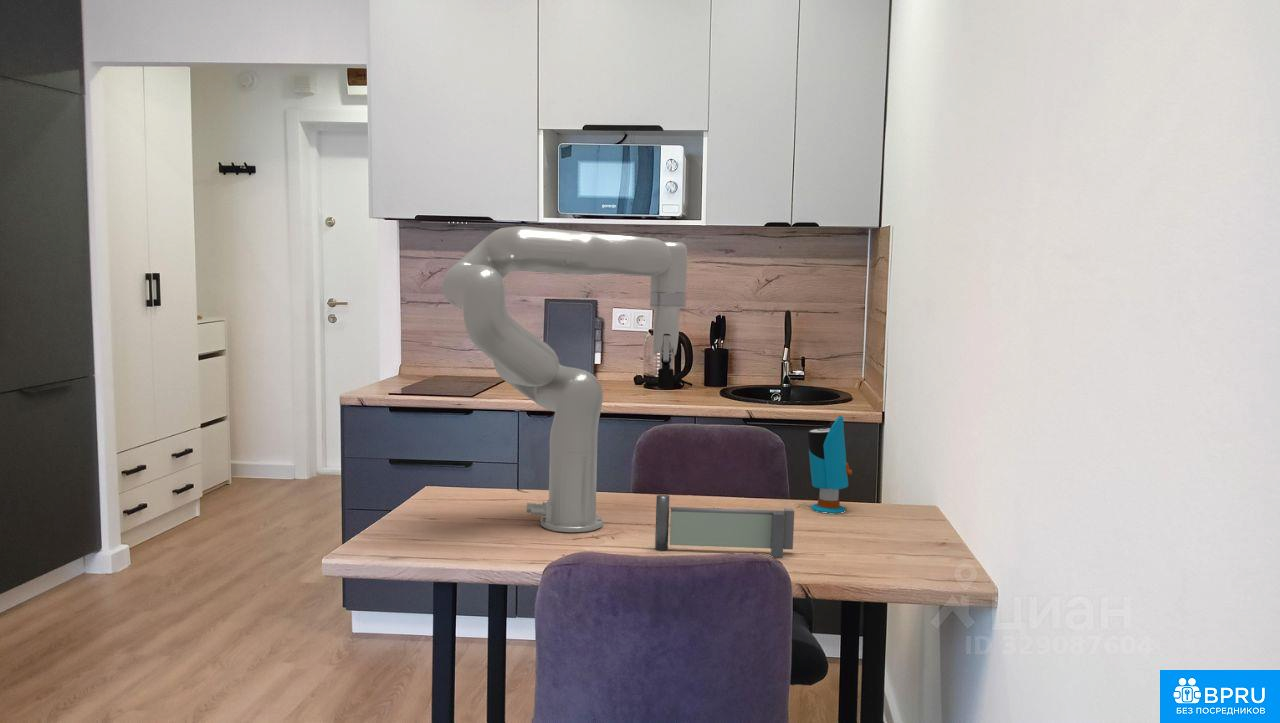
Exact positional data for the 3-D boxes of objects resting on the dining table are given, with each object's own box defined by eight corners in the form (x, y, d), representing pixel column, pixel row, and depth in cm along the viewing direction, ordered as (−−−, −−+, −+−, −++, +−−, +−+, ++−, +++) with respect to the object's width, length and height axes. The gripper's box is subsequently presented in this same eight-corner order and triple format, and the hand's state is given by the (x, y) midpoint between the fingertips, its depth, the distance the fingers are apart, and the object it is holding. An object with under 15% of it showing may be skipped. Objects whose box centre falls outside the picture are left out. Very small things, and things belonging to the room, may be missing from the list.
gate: (669, 545, 170) (670, 506, 170) (669, 542, 172) (670, 504, 171) (792, 549, 170) (794, 510, 169) (791, 547, 171) (793, 508, 171)
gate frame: (654, 550, 170) (655, 497, 169) (655, 546, 173) (657, 494, 172) (782, 558, 167) (785, 504, 167) (782, 554, 170) (784, 501, 169)
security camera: (808, 411, 209) (854, 413, 207) (804, 503, 211) (849, 507, 209) (807, 416, 201) (855, 418, 199) (803, 512, 202) (850, 516, 200)
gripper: (650, 300, 202) (648, 383, 203) (649, 301, 187) (646, 391, 188) (685, 301, 201) (682, 384, 203) (686, 302, 186) (683, 392, 188)
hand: (665, 387), depth 196 cm, fingers closed
